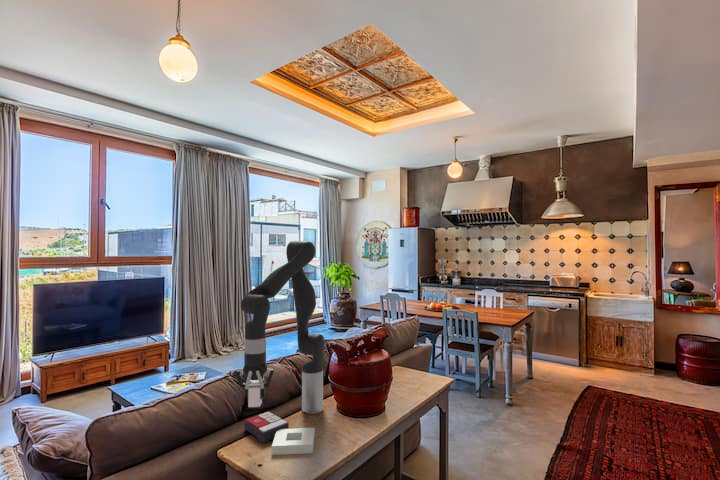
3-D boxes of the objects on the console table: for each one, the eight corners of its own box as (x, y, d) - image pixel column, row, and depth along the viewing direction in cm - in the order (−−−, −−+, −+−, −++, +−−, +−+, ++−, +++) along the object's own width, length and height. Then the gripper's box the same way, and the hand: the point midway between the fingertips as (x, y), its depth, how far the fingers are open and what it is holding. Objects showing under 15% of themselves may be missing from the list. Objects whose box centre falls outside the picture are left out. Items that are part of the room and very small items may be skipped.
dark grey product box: (268, 410, 149) (289, 420, 138) (269, 420, 149) (289, 432, 138) (243, 419, 141) (262, 431, 131) (243, 430, 141) (263, 443, 130)
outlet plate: (276, 437, 135) (276, 429, 136) (314, 435, 137) (314, 427, 137) (271, 455, 123) (271, 446, 124) (312, 453, 125) (312, 444, 125)
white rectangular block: (250, 403, 131) (250, 380, 132) (262, 402, 132) (262, 380, 132) (248, 407, 127) (248, 383, 128) (259, 406, 128) (260, 383, 128)
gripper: (276, 347, 135) (276, 393, 134) (237, 348, 133) (237, 395, 133) (273, 352, 127) (273, 402, 127) (232, 353, 126) (232, 403, 125)
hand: (255, 398), depth 130 cm, fingers closed on white rectangular block, 4 cm apart
